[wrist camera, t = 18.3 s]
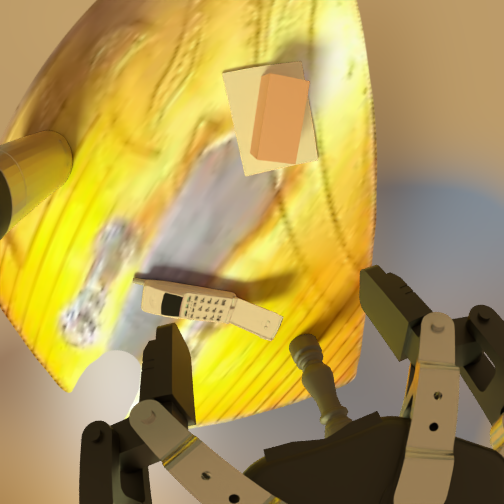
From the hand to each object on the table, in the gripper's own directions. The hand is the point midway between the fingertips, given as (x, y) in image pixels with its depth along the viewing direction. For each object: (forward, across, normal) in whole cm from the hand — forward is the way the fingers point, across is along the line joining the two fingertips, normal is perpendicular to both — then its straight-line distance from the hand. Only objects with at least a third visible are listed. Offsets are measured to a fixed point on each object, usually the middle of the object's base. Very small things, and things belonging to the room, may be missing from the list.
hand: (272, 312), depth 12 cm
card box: (+32, -9, -4) cm, 33 cm away
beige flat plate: (+32, -9, -4) cm, 34 cm away
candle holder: (+32, -8, +41) cm, 53 cm away
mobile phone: (+33, +8, +22) cm, 40 cm away
